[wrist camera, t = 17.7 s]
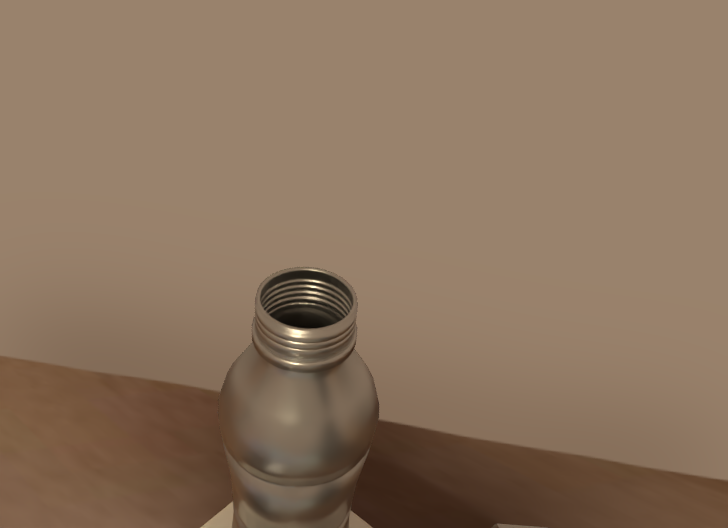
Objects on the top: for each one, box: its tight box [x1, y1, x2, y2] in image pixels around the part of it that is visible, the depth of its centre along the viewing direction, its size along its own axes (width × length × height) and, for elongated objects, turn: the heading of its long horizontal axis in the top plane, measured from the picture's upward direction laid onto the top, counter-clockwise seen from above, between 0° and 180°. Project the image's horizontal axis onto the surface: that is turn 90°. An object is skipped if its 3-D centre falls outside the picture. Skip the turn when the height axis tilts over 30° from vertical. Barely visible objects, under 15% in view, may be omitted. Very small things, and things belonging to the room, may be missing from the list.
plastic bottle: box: [218, 267, 379, 528], centre depth 29 cm, size 6×7×20 cm
